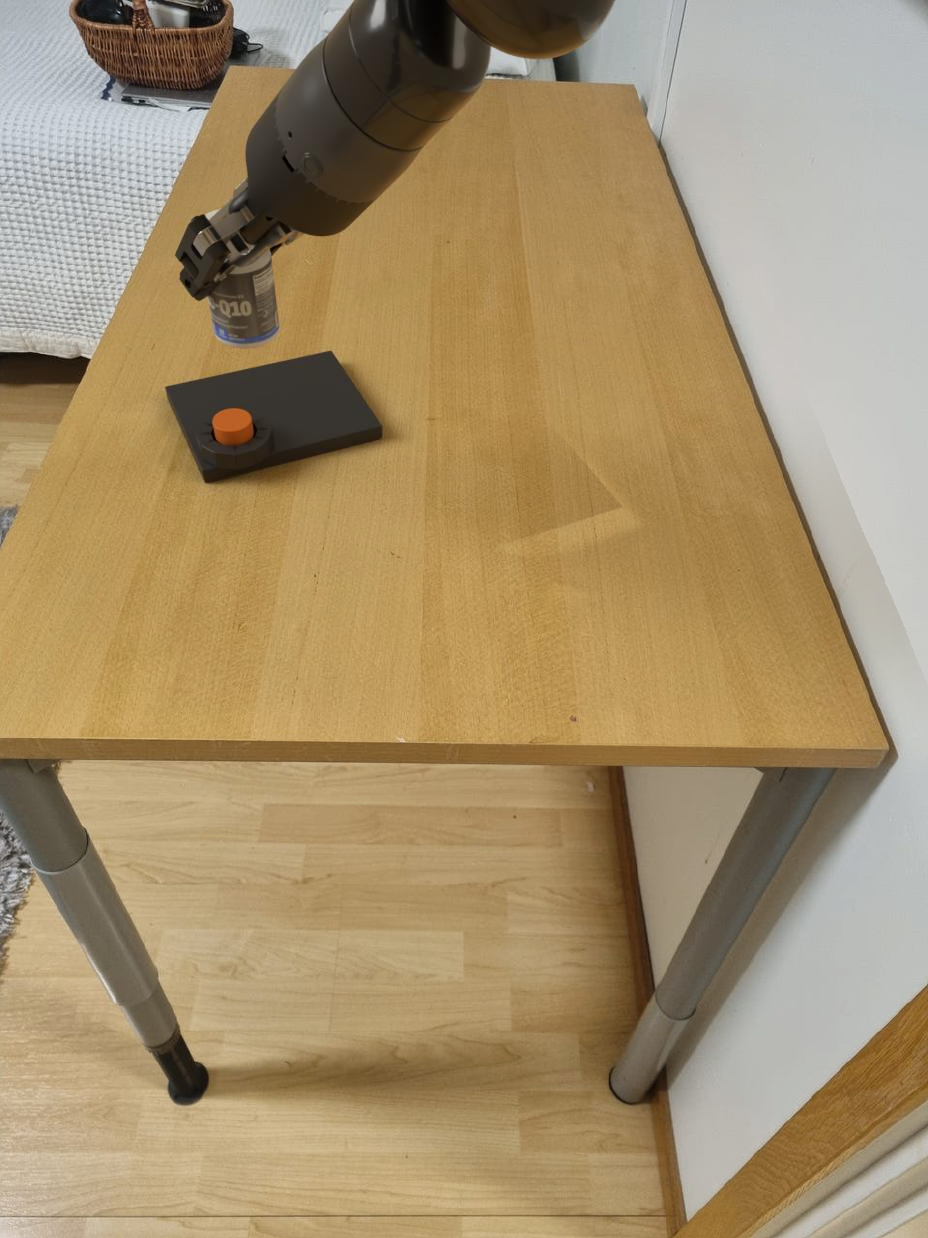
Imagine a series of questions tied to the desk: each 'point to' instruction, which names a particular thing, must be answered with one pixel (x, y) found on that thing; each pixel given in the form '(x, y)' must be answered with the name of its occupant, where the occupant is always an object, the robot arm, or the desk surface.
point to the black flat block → (274, 414)
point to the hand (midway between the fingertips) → (219, 271)
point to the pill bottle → (246, 304)
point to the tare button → (233, 426)
